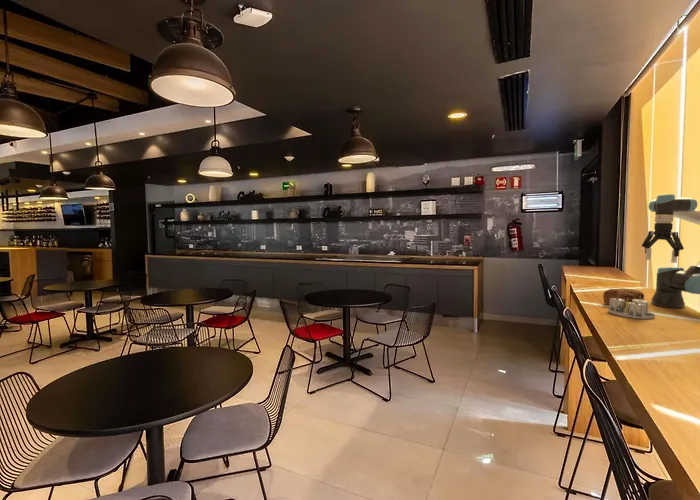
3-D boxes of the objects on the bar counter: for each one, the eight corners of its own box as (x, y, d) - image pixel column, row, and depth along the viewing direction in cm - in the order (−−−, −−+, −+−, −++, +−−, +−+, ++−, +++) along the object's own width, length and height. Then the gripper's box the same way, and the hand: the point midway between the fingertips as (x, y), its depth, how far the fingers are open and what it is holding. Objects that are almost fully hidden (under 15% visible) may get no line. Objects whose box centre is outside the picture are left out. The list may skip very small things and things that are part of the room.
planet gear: (638, 309, 202) (639, 299, 201) (650, 312, 195) (651, 301, 195) (628, 310, 201) (629, 299, 200) (640, 313, 194) (641, 302, 193)
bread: (616, 307, 211) (617, 291, 210) (601, 303, 222) (602, 287, 221) (644, 306, 214) (645, 290, 213) (628, 302, 224) (629, 286, 223)
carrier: (628, 308, 209) (629, 295, 208) (664, 318, 189) (665, 303, 188) (599, 310, 205) (600, 297, 204) (633, 320, 185) (634, 305, 184)
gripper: (635, 222, 208) (633, 258, 210) (683, 223, 184) (680, 264, 186) (646, 222, 210) (643, 258, 212) (694, 223, 185) (691, 263, 187)
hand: (660, 261), depth 199 cm, fingers open, 13 cm apart
